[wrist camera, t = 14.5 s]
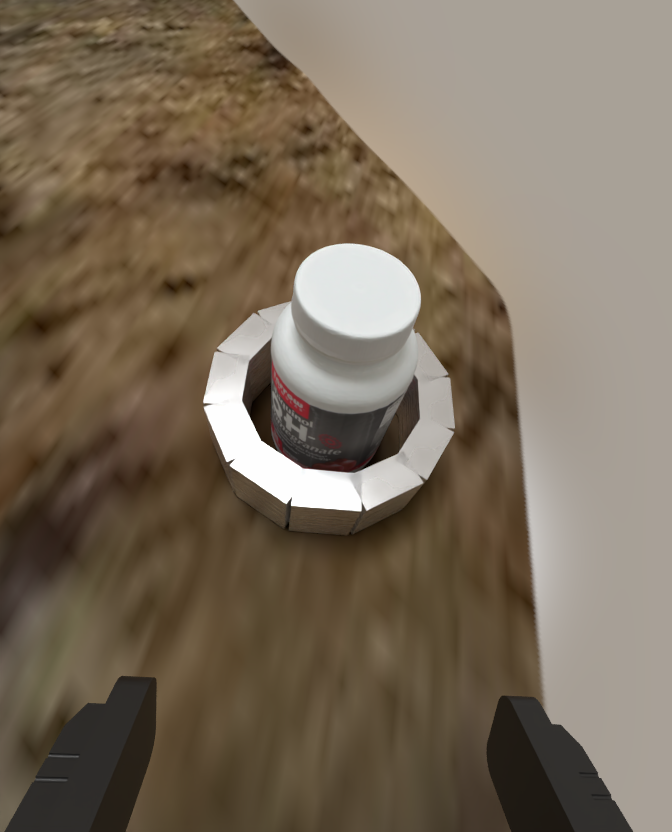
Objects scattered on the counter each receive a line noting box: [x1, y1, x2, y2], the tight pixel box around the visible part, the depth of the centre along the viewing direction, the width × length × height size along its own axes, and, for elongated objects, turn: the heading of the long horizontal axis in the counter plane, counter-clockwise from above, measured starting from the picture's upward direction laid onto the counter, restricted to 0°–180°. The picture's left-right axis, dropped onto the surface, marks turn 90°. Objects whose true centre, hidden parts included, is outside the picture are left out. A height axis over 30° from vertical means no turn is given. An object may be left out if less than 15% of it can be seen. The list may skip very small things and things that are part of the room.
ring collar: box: [203, 301, 455, 535], centre depth 21 cm, size 10×10×4 cm
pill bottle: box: [271, 244, 421, 473], centre depth 18 cm, size 5×5×10 cm
